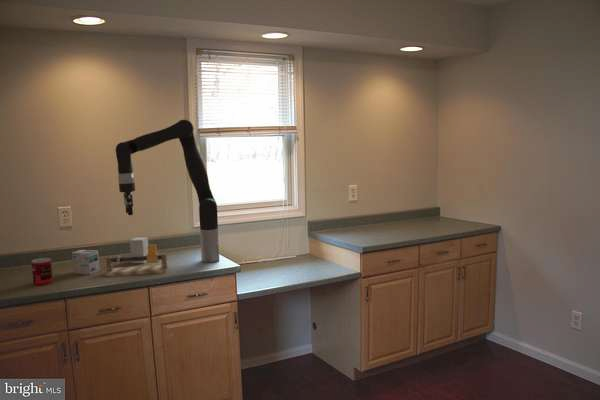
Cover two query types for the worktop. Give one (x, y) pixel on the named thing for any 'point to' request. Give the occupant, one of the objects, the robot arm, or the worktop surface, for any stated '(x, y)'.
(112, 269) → the beige long open box
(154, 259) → the sleeve
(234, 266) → the worktop surface
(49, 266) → the canned food
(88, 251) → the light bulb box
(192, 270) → the worktop surface
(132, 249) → the supplement box
